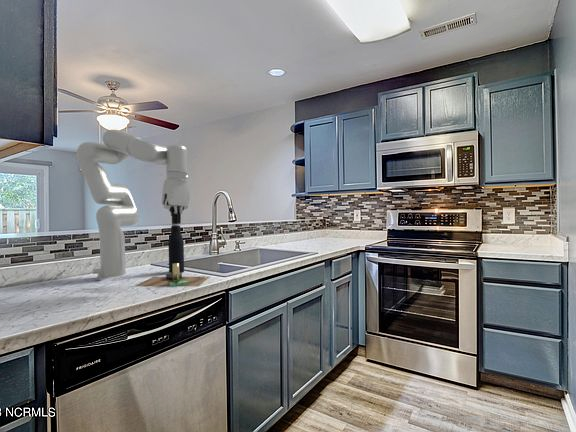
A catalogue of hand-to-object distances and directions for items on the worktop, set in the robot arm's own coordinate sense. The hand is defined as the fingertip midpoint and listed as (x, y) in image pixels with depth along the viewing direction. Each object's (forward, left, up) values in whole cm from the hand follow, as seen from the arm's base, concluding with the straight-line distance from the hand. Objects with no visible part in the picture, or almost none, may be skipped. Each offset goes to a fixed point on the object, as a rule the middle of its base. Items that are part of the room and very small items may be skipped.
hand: (176, 223), depth 126 cm
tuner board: (0, -2, -24) cm, 24 cm away
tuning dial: (0, -2, -22) cm, 22 cm away
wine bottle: (-6, +16, -24) cm, 30 cm away
